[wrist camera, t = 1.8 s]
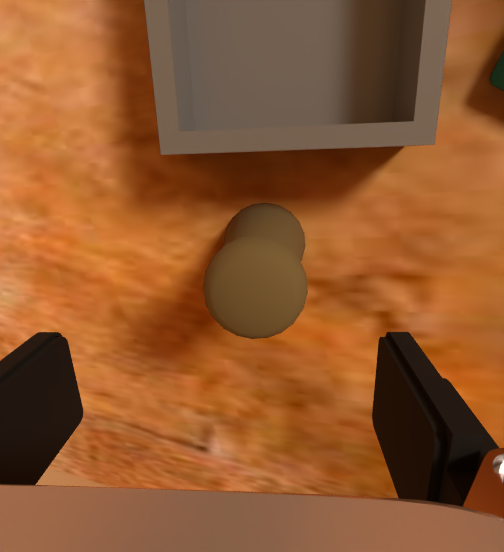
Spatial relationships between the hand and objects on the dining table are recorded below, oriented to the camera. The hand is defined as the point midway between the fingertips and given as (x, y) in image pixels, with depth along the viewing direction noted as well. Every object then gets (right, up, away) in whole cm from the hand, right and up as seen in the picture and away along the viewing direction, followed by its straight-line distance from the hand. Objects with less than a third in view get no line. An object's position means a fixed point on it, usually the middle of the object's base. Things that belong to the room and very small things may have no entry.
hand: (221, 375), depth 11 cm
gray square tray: (+3, +19, +12) cm, 22 cm away
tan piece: (+2, +5, +16) cm, 17 cm away
